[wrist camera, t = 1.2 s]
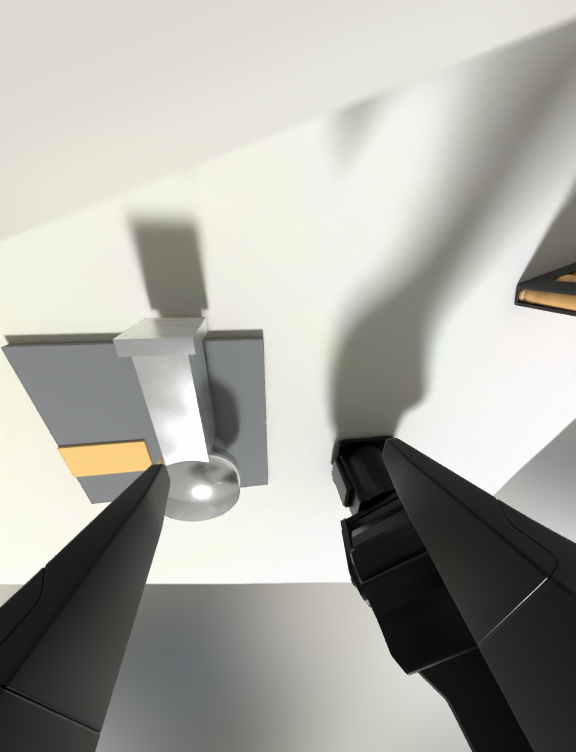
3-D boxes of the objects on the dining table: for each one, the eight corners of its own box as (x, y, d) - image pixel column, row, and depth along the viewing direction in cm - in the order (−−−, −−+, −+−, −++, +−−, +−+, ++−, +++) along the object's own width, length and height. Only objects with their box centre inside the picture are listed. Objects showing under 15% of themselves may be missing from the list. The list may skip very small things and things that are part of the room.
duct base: (263, 337, 19) (265, 351, 17) (267, 479, 27) (269, 504, 24) (8, 344, 17) (-37, 361, 14) (95, 498, 25) (76, 527, 22)
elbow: (243, 475, 25) (242, 517, 21) (172, 483, 24) (157, 528, 20) (227, 316, 17) (221, 336, 13) (121, 318, 16) (80, 340, 12)
